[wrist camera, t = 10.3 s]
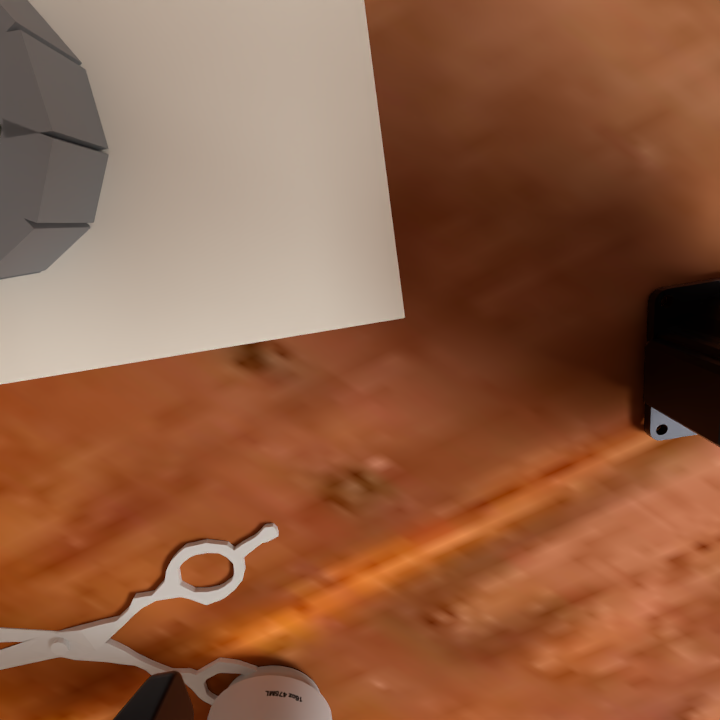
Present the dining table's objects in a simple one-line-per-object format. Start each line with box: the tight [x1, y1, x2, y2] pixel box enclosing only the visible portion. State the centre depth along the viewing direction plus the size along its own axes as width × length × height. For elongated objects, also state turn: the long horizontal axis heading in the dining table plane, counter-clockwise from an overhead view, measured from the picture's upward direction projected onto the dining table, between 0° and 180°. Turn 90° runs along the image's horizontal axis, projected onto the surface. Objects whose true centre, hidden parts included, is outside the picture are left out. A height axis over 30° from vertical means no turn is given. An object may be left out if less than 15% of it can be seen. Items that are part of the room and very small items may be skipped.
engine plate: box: [0, 0, 405, 384], centre depth 13 cm, size 22×16×4 cm
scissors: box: [0, 523, 279, 705], centre depth 22 cm, size 11×1×20 cm
